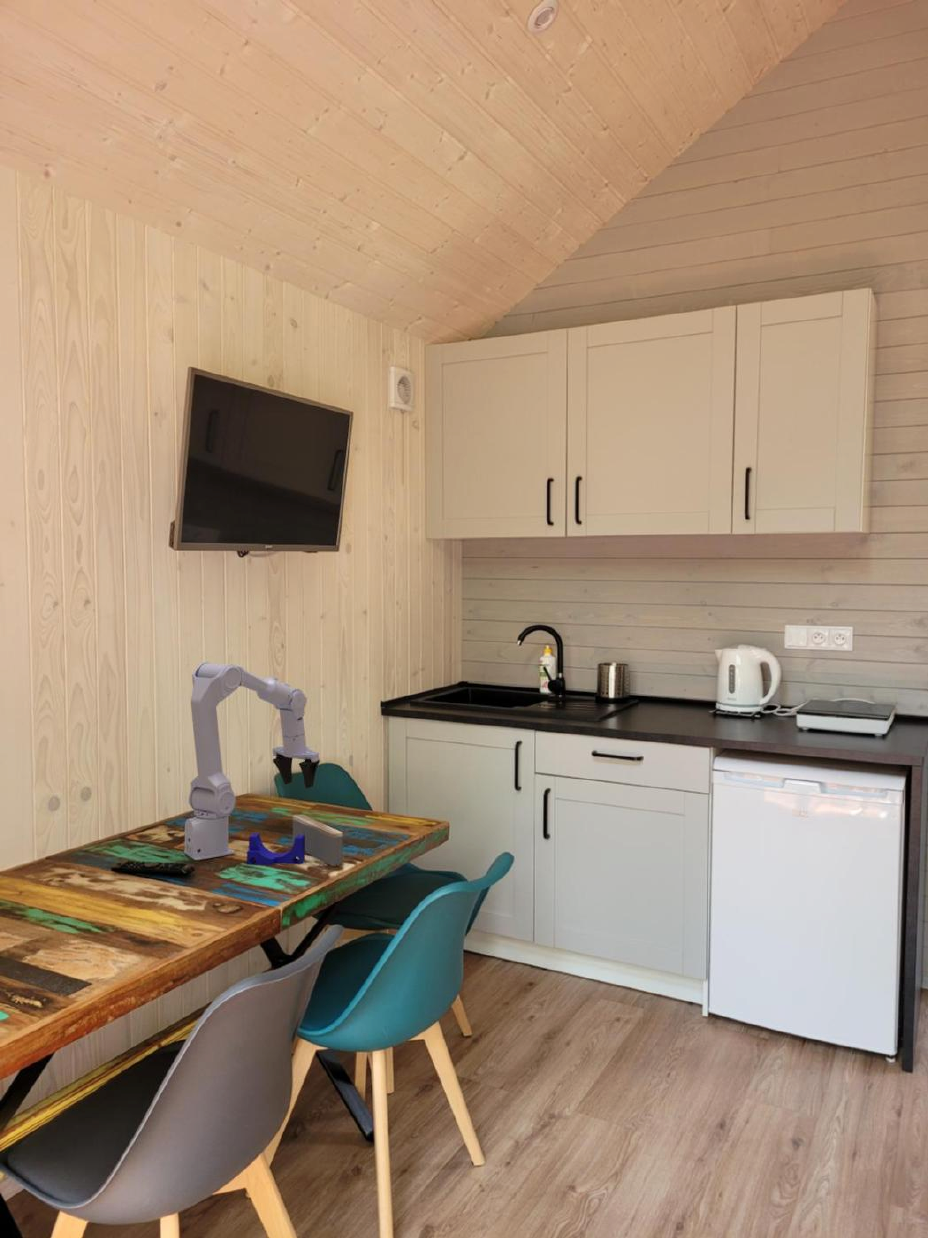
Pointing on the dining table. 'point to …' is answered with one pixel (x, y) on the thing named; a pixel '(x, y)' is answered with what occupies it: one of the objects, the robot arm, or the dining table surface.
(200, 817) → the robot arm
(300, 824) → the wall board
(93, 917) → the dining table surface
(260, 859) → the blue half-round bracket
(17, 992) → the dining table surface
